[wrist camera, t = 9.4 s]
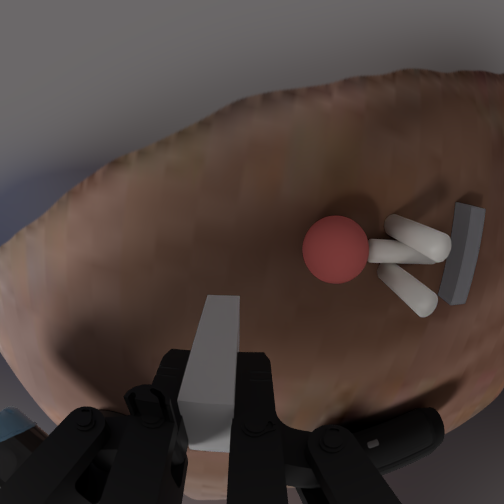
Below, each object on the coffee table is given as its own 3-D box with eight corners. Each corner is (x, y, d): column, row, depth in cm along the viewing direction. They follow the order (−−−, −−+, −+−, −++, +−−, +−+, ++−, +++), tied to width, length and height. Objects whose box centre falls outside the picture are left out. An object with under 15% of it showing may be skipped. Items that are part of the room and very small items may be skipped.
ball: (378, 287, 22) (339, 267, 28) (385, 220, 21) (343, 210, 26) (324, 300, 20) (289, 275, 26) (330, 222, 19) (291, 212, 24)
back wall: (437, 295, 28) (450, 305, 25) (455, 201, 25) (471, 206, 22) (452, 293, 28) (465, 303, 25) (470, 204, 25) (485, 209, 22)
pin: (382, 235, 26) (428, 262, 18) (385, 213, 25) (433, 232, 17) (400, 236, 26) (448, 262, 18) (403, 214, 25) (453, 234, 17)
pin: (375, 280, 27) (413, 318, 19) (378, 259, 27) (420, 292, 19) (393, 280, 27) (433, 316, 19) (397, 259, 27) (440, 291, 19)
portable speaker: (428, 392, 34) (452, 430, 25) (418, 422, 37) (437, 456, 28) (288, 438, 36) (294, 488, 26) (295, 461, 39) (301, 503, 29)
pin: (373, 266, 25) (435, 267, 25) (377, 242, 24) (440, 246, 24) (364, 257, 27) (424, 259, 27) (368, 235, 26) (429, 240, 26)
